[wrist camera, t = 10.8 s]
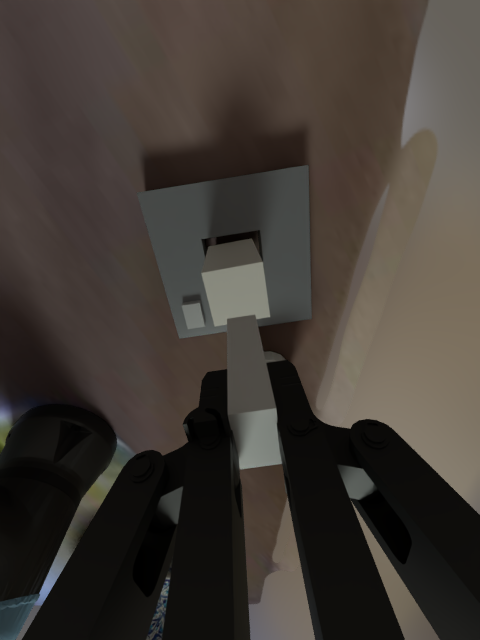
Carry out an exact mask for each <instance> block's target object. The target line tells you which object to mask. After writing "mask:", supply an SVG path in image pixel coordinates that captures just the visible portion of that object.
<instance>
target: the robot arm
mask: <svg viewBox="0 0 480 640" xmlns="http://www.w3.org/2000/svg"><path fill="white" fill-rule="evenodd" d="M183 427H184V430H185V433H186V436H187V438H188V441H189V442H188V443H186V444H185V445H184V446H183V447H181V448H179V449H177V450H175V451H173V452H170V453H168V454H166V455H164V456H162V455H161V453H160V452H157V451H154V450H148V451H143V452H141V453H139V454H136V455H135V456H134V457H133V458H131V459H130V460H129V461H128V462H127V463H126V465H125V466H124V467H123V469H122V470H121V472H120V474H119V475H118V477H117V479H116V481H115V482H114V484H113V486H112V487H111V489H110V491H109V492H108V494H107V496H106V498H105V499H104V501H103V503H102V504H101V506H100V508H99V509H98V511H97V513H96V515H95V516H94V518H93V520H92V521H91V523H90V525H89V526H88V528H87V530H86V531H85V533H84V535H83V537H82V538H81V540H80V542H79V543H78V545H77V547H76V548H75V550H74V552H73V554H72V555H71V557H70V559H69V560H68V562H67V564H66V565H65V567H64V569H63V571H62V572H61V574H60V576H59V577H58V579H57V581H56V582H55V584H54V586H53V588H52V589H51V591H50V593H49V594H48V596H47V598H46V599H45V601H44V603H43V605H42V606H41V608H40V610H39V611H38V613H37V615H36V616H35V618H34V620H33V622H32V623H31V625H30V627H29V628H28V630H27V632H26V633H25V635H24V637H23V638H22V640H146V638H147V635H148V632H149V629H150V626H151V623H152V619H153V616H154V613H155V610H156V607H157V604H158V601H159V598H160V595H161V592H162V589H163V585H164V582H165V579H166V576H167V573H168V570H169V567H170V564H171V561H172V558H173V562H172V569H171V576H170V583H169V591H168V598H167V605H166V612H165V619H164V627H163V634H162V640H250V624H249V608H248V588H247V570H246V552H245V534H244V516H243V498H242V485H241V480H240V473H239V466H240V469H246V468H253V467H261V466H268V465H276V464H282V466H283V471H284V480H285V489H286V493H287V496H288V501H289V506H290V511H291V516H292V521H293V527H294V532H295V537H296V542H297V547H298V552H299V558H300V563H301V567H302V573H303V578H304V584H305V589H306V594H307V599H308V604H309V609H310V615H311V619H312V625H313V630H314V635H315V640H404V636H403V634H402V631H401V628H400V626H399V623H398V621H397V618H396V616H395V613H394V611H393V608H392V606H391V603H390V601H389V598H388V595H387V593H386V590H385V587H384V585H383V582H382V580H381V577H380V575H379V572H378V569H377V567H376V565H375V562H374V559H373V557H372V554H371V552H370V549H369V546H368V544H367V541H366V539H365V536H364V533H363V531H362V528H361V526H360V523H359V520H358V518H357V516H356V513H355V510H354V508H353V505H352V502H353V504H354V506H355V507H356V508H357V510H358V512H359V513H360V515H361V517H362V518H363V520H364V521H365V523H366V524H367V526H368V528H369V529H370V531H371V532H372V534H373V535H374V537H375V538H376V540H377V542H378V543H379V545H380V546H381V548H382V549H383V551H384V552H385V554H386V555H387V557H388V559H389V560H390V562H391V563H392V565H393V566H394V568H395V570H396V571H397V573H398V574H399V576H400V577H401V579H402V581H403V582H404V584H405V585H406V587H407V588H408V590H409V591H410V593H411V595H412V596H413V598H414V599H415V601H416V603H417V604H418V606H419V607H420V609H421V610H422V612H423V614H424V615H425V617H426V618H427V620H428V621H429V623H430V624H431V626H432V627H433V629H434V631H435V632H436V634H437V635H438V637H439V639H440V640H480V515H479V514H478V513H477V512H476V511H475V510H474V509H473V508H472V507H471V506H470V505H469V504H468V503H467V502H466V501H465V500H464V499H463V498H462V497H461V496H460V495H459V494H458V493H457V492H456V491H455V490H454V489H453V488H452V487H451V486H450V485H449V484H448V483H447V482H446V481H445V480H444V479H443V478H442V477H441V476H440V475H438V473H437V472H436V471H435V470H434V469H433V468H432V467H431V466H430V465H429V464H428V463H427V462H426V461H425V460H424V459H422V458H421V457H420V456H419V455H418V454H417V453H416V452H415V451H414V450H413V449H412V448H411V447H410V446H409V445H408V444H407V443H406V442H405V441H404V440H403V439H402V438H401V437H400V436H399V435H398V434H397V433H396V432H395V431H394V430H393V429H392V428H390V427H389V426H388V425H386V424H384V423H382V422H379V421H377V420H370V419H365V420H359V421H358V422H356V423H354V424H353V425H352V427H351V429H348V428H341V427H335V426H331V425H328V424H325V423H323V422H322V421H320V420H319V419H318V418H317V417H316V416H315V415H314V414H313V412H312V410H311V408H310V405H309V402H308V400H307V397H306V394H305V392H304V389H303V386H302V384H301V381H300V378H299V377H298V373H297V370H296V368H295V366H294V365H293V364H292V363H291V362H290V361H288V360H282V361H275V362H268V363H266V360H265V356H264V351H263V347H262V342H261V338H260V333H259V329H258V324H257V320H256V315H248V316H242V317H235V318H228V319H227V369H225V370H218V371H212V372H207V374H206V375H205V377H204V378H203V380H202V385H201V393H200V401H199V407H198V408H196V409H195V410H193V411H191V412H190V413H189V414H188V416H187V417H186V418H185V420H184V423H183ZM116 446H117V441H116V437H115V434H114V432H113V431H112V429H111V428H110V427H109V426H108V425H107V424H106V423H105V422H104V421H103V420H102V419H100V418H99V417H97V416H96V415H94V414H92V413H90V412H88V411H86V410H83V409H80V408H77V407H73V406H67V405H44V406H40V407H36V408H33V409H31V410H29V411H28V412H26V413H25V414H24V415H22V417H21V418H20V419H19V420H18V421H17V422H16V423H15V425H14V426H13V427H12V428H11V430H10V431H9V433H8V436H7V438H6V445H5V447H4V449H3V450H2V452H1V454H0V640H16V638H17V636H18V634H19V633H20V631H21V629H22V627H23V625H24V623H25V621H26V619H27V617H28V615H29V613H30V611H31V609H32V607H33V606H34V604H35V602H36V601H37V600H38V598H39V596H40V594H39V592H40V590H41V588H42V586H43V584H44V581H45V579H46V577H47V575H48V572H49V570H50V568H51V566H52V564H53V561H54V559H55V557H56V555H57V552H58V550H59V548H60V546H61V544H62V541H63V539H64V537H65V535H66V532H67V530H68V528H69V526H70V524H71V521H72V519H73V517H74V515H75V512H76V510H77V508H78V506H79V504H80V501H81V499H82V498H83V496H84V495H85V494H86V492H87V491H88V490H89V489H90V487H91V486H92V485H93V484H94V482H95V481H96V480H97V478H98V477H99V476H100V475H101V474H102V473H103V472H104V471H105V470H106V469H107V467H108V466H109V464H110V462H111V460H112V458H113V455H114V453H115V450H116ZM350 499H351V500H350ZM351 501H352V502H351Z"/></svg>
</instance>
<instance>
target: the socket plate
mask: <svg viewBox="0 0 480 640" xmlns="http://www.w3.org/2000/svg"><path fill="white" fill-rule="evenodd" d="M137 195H138V199H139V202H140V206H141V209H142V213H143V216H144V219H145V223H146V226H147V230H148V233H149V236H150V240H151V243H152V247H153V250H154V253H155V257H156V260H157V264H158V267H159V271H160V274H161V277H162V281H163V284H164V288H165V291H166V294H167V298H168V301H169V305H170V308H171V312H172V315H173V318H174V322H175V325H176V329H177V332H178V335H179V339H180V338H186V337H193V336H200V335H207V334H213V333H220V332H227V325H221V326H216V327H215V326H214V322H213V318H212V314H211V310H210V306H209V302H208V298H207V294H206V290H205V286H204V282H203V278H202V274H201V272H202V269H203V265H204V261H205V257H206V254H207V250H206V245H205V240H204V239H206V238H212V237H219V236H225V235H231V234H238V233H244V232H250V231H258V240H259V249H260V257H261V259H262V261H263V267H264V274H265V282H266V289H267V297H268V304H269V311H270V317H267V318H261V319H256V320H257V324H258V327H260V326H267V325H274V324H280V323H287V322H294V321H300V320H307V319H312V316H311V266H310V217H309V167H308V165H304V166H298V167H292V168H286V169H280V170H274V171H268V172H261V173H255V174H249V175H243V176H237V177H231V178H225V179H218V180H212V181H206V182H200V183H194V184H188V185H181V186H175V187H169V188H163V189H157V190H151V191H145V192H138V193H137Z"/></svg>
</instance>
